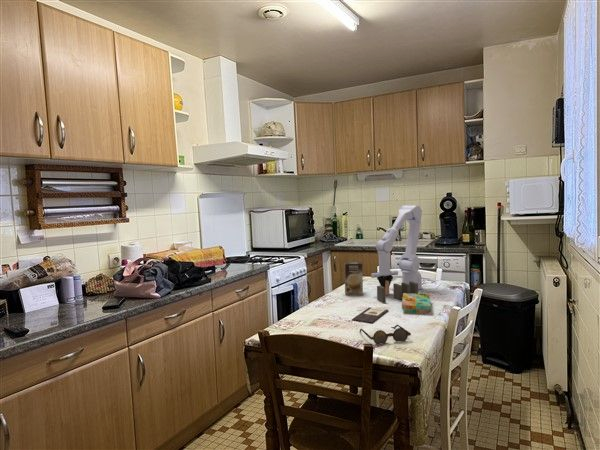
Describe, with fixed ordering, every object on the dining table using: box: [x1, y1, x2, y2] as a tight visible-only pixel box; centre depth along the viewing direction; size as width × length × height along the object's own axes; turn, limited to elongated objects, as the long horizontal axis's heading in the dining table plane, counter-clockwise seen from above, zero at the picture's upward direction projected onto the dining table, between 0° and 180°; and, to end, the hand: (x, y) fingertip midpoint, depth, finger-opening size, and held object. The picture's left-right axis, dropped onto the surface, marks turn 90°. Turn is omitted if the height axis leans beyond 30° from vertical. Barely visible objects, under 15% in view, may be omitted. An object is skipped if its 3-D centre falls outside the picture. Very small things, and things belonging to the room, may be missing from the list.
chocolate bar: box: [351, 307, 389, 325], centre depth 165 cm, size 9×1×18 cm
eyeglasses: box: [359, 324, 412, 345], centre depth 142 cm, size 15×15×5 cm
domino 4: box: [400, 282, 410, 298], centre depth 189 cm, size 2×5×7 cm, turn 18°
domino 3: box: [392, 282, 403, 301], centre depth 188 cm, size 2×5×7 cm, turn 18°
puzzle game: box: [401, 293, 432, 314], centre depth 174 cm, size 12×5×20 cm
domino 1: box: [376, 284, 387, 304], centre depth 185 cm, size 2×5×7 cm, turn 18°
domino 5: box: [409, 281, 419, 294], centre depth 191 cm, size 2×5×7 cm, turn 18°
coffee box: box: [344, 261, 364, 296], centre depth 201 cm, size 9×6×16 cm
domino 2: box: [385, 280, 390, 296], centre depth 197 cm, size 2×5×7 cm, turn 18°
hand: (385, 290), depth 197 cm, fingers closed on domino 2, 1 cm apart
